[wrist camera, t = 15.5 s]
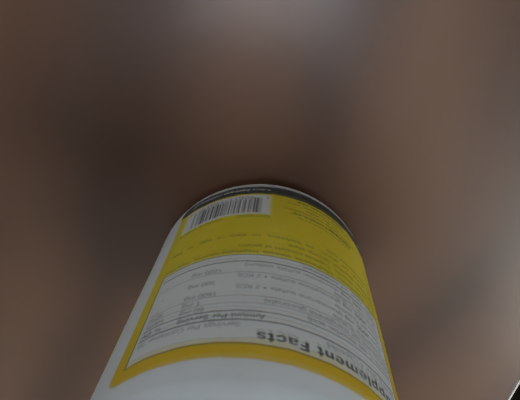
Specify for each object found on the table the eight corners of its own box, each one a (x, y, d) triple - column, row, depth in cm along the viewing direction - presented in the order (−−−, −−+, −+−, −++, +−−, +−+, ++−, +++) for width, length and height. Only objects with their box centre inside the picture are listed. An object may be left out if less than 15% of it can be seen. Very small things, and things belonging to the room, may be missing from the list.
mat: (-21, 405, 21) (-28, 415, 20) (-51, -169, 12) (-64, -174, 12) (440, 496, 21) (443, 508, 21) (721, 16, 13) (737, 17, 12)
